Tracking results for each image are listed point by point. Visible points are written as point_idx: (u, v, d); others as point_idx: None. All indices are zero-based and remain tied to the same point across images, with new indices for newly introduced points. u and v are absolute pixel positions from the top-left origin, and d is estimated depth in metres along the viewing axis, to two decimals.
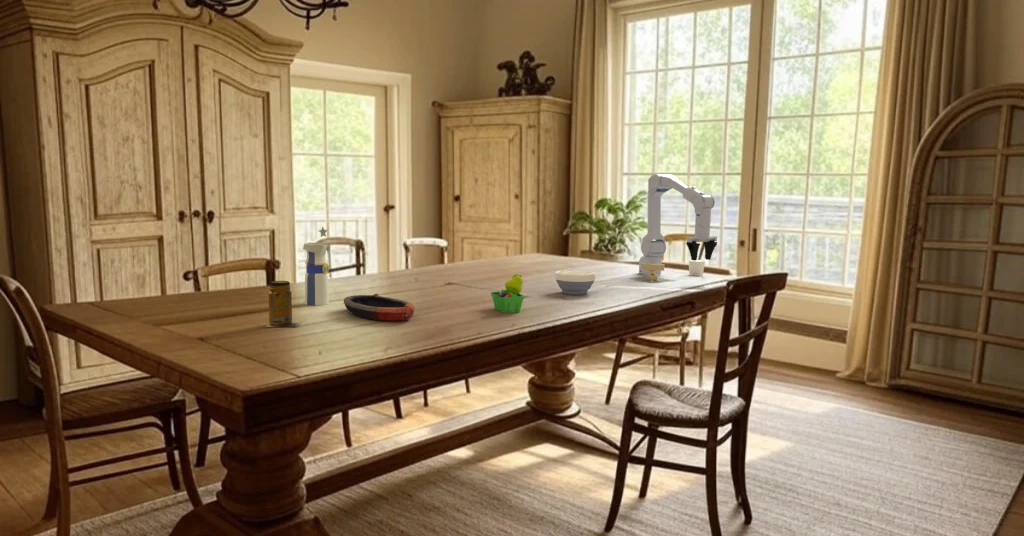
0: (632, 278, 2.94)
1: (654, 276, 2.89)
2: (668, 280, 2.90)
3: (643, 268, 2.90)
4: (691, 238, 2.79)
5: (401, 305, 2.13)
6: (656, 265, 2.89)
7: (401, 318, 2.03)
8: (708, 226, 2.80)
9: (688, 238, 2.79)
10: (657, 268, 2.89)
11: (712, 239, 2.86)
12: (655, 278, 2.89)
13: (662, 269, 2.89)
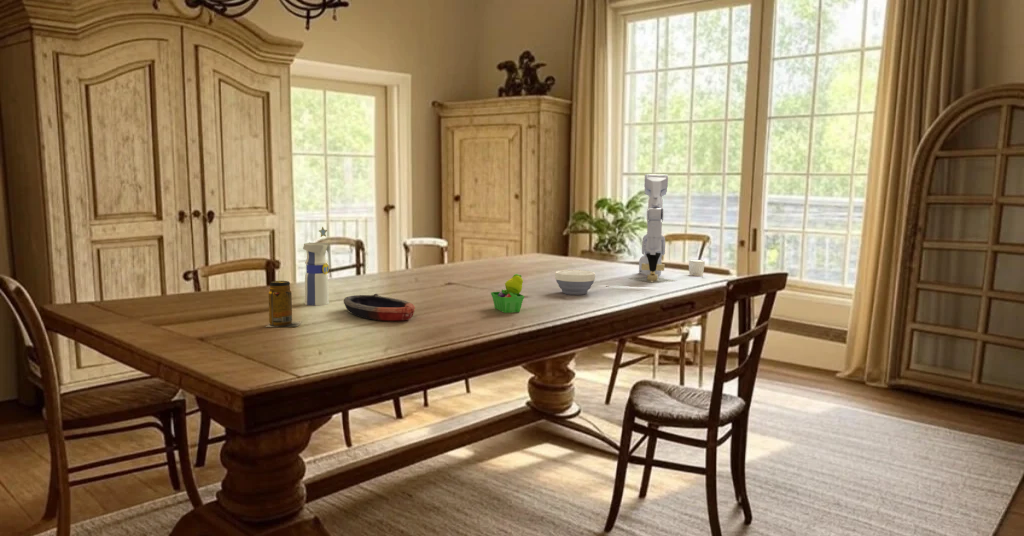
0: (632, 278, 2.94)
1: (654, 276, 2.89)
2: (668, 280, 2.90)
3: (643, 268, 2.90)
4: None
5: (401, 305, 2.13)
6: None
7: (401, 318, 2.03)
8: (647, 237, 2.89)
9: None
10: (657, 268, 2.89)
11: None
12: (655, 278, 2.89)
13: (662, 269, 2.89)
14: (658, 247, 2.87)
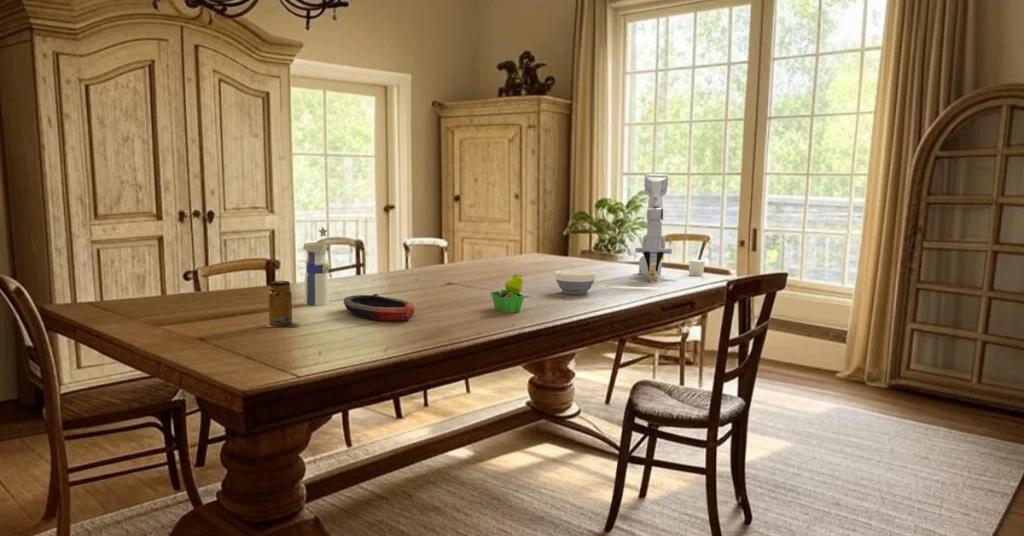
0: (632, 278, 2.94)
1: (657, 275, 2.91)
2: (668, 280, 2.90)
3: (655, 269, 2.87)
4: (636, 248, 2.90)
5: (401, 305, 2.13)
6: None
7: (401, 318, 2.03)
8: (654, 238, 2.86)
9: None
10: None
11: (667, 251, 2.88)
12: None
13: None
14: None
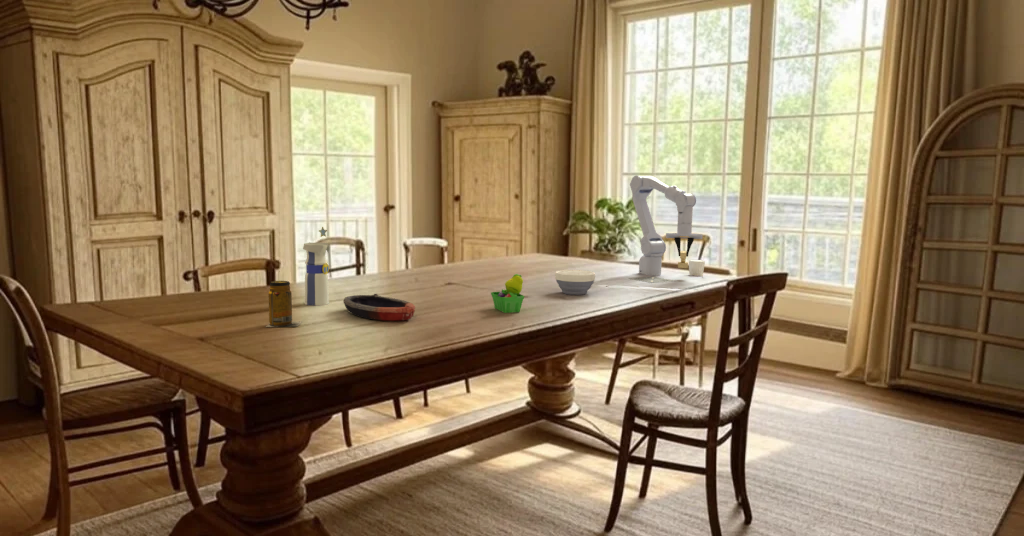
0: (632, 278, 2.94)
1: (687, 263, 2.95)
2: (668, 280, 2.90)
3: None
4: (667, 234, 2.93)
5: (401, 305, 2.13)
6: (686, 252, 2.95)
7: (402, 318, 2.03)
8: (685, 223, 2.89)
9: (666, 234, 2.94)
10: None
11: (698, 237, 2.91)
12: None
13: None
14: None
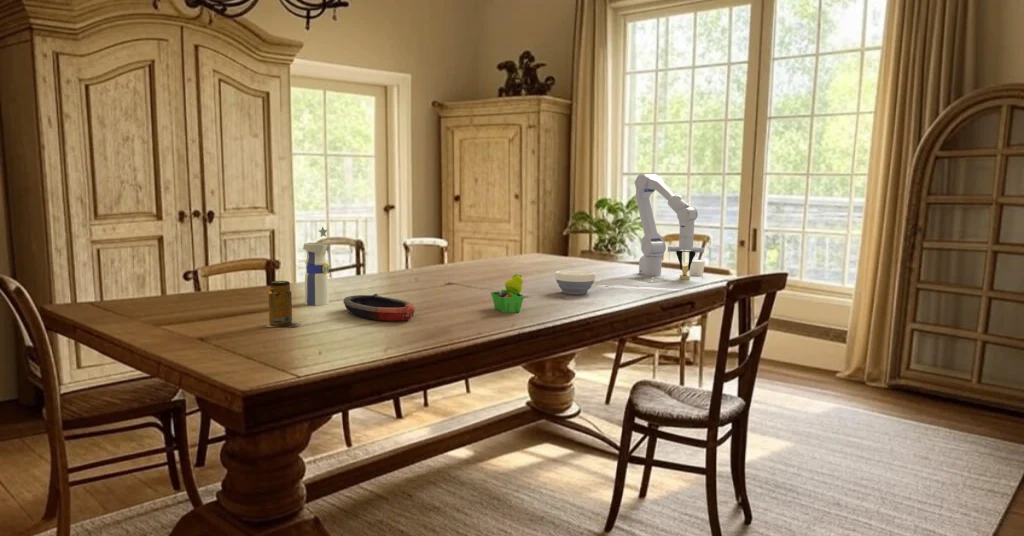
0: (632, 278, 2.94)
1: (689, 276, 2.96)
2: (668, 280, 2.90)
3: None
4: (669, 248, 2.94)
5: (401, 305, 2.13)
6: None
7: (401, 318, 2.03)
8: (687, 237, 2.90)
9: None
10: None
11: (699, 250, 2.92)
12: None
13: None
14: None
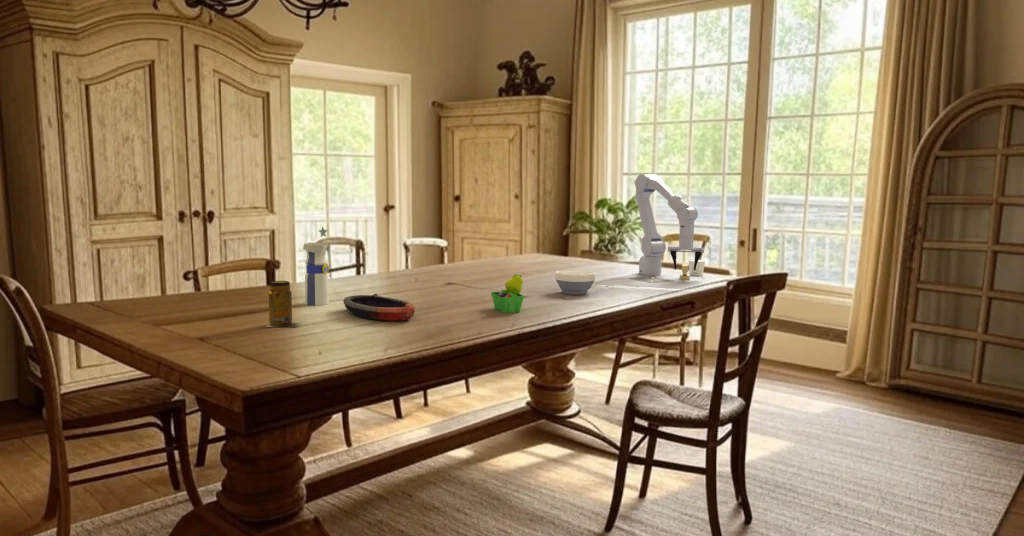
0: (632, 278, 2.94)
1: (689, 276, 2.96)
2: (668, 280, 2.90)
3: None
4: (669, 248, 2.94)
5: (402, 305, 2.13)
6: None
7: (402, 318, 2.03)
8: (687, 237, 2.90)
9: None
10: None
11: (699, 250, 2.92)
12: None
13: None
14: None
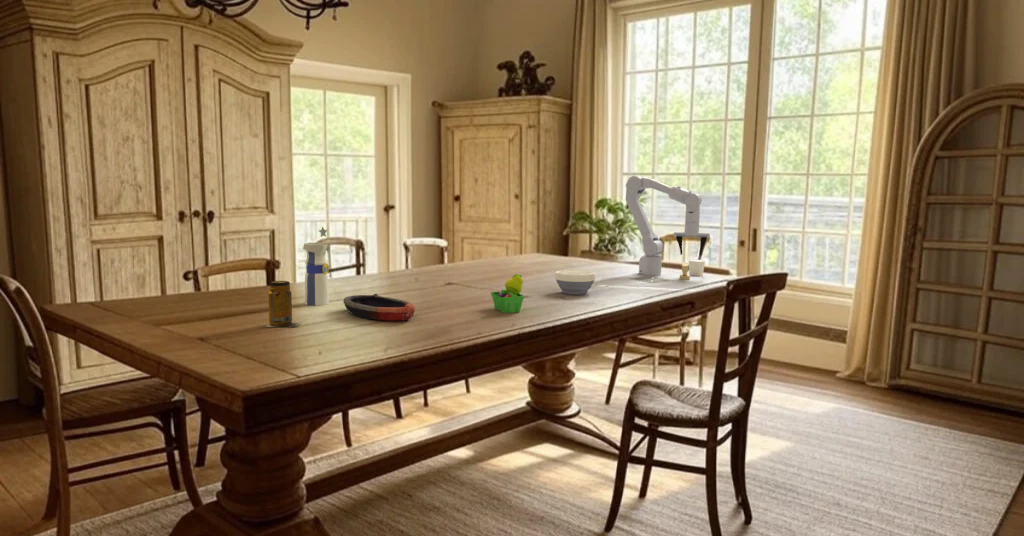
0: (632, 278, 2.94)
1: (689, 276, 2.96)
2: (668, 280, 2.90)
3: None
4: (675, 233, 2.99)
5: (402, 305, 2.13)
6: None
7: (402, 318, 2.03)
8: (693, 223, 2.95)
9: None
10: None
11: (705, 236, 2.97)
12: None
13: None
14: None
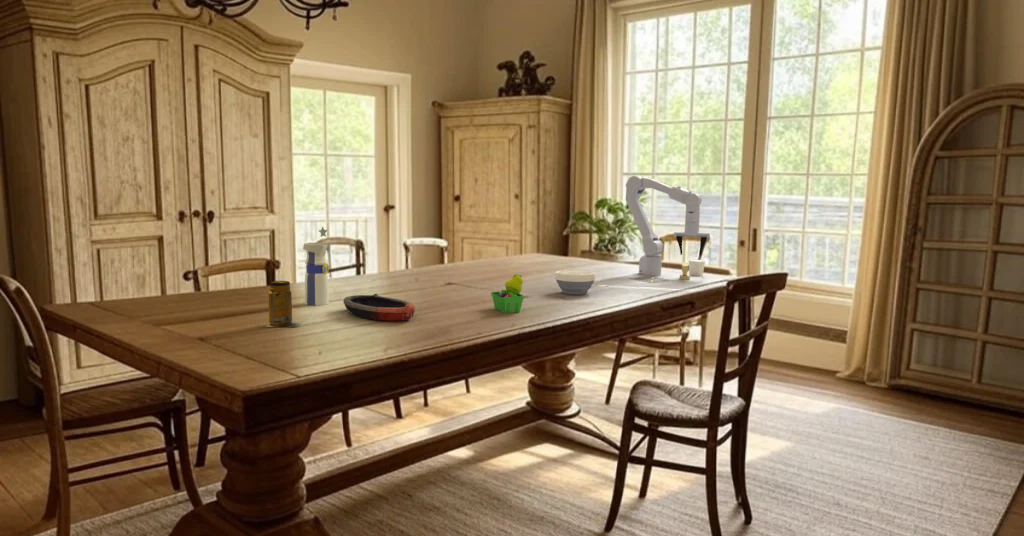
0: (632, 278, 2.94)
1: (689, 276, 2.96)
2: (668, 280, 2.90)
3: None
4: (675, 233, 2.99)
5: (402, 305, 2.13)
6: None
7: (402, 318, 2.03)
8: (693, 223, 2.95)
9: None
10: None
11: (705, 236, 2.97)
12: None
13: None
14: None
